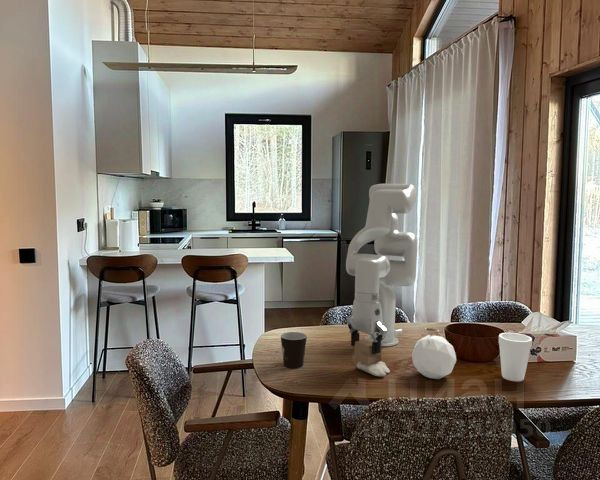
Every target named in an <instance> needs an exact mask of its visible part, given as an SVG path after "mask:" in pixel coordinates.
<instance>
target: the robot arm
mask: <svg viewBox="0 0 600 480" xmlns="http://www.w3.org/2000/svg"><path fill="white" fill-rule="evenodd" d="M368 197H369V204H368V207H367V208H368V209H367V215H366V221H365V226H364V227H363V228H362V229H360V230H359V231H358V232H357V233H356V234H355V235H354V236H353V238H352V239H351V241H350V242H349V244H348V249H347V253H346V260H345V270H346V273H347V274H348V275H350V276H353V277H355V279H354V299H353V304H352V308H351V309H352V310H351V316H348V317H346V322H347V327H348V330H349V333H350V346H352V347H355V342H356V341H360V332H361V333H363V334H367V335H366V336H365V338H364V339H368V338H369V339H372V340H374V342H372V354H378V353H380V352H381V343H382V347H394V346H396V345H398V344H399V339H398V337H397V336H398V335H401V334H402V333H403V332H404V331H403V329H402V328H397V329H396V328H395V326H396V325H395V324H396V323H395V322H396V295H395V293H394V291H393V290H392V288H391V287H392V286H395V287H397V286H398V287H412V286H414V284H415V281H416V277H417V262H418V261H417V260H418V258H417V257H418V240H417V236H416V235H415V233H413V232H409V231H399V217H398V214H401V215H403V214H404V215H406V214H409V213H410V212H411V211H412V209H413V207H414V204H415V203H416V199H417V190H416V188H415V185H413V184H410V183H378V184H373V185H371V186H370V188H369V190H368ZM371 242H374V245H373V247H374V252H375V254H372V253H371V254H370V253H358V252H359V251H360V249H361V248H362V247H363V246H364V245H366V244H368V243H371ZM388 257H393V258H397V257H398V258H403V260H398V259H397V260H396V259H389V258H388ZM381 353H382V352H381Z"/></svg>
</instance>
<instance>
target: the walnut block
mask: <svg viewBox="0 0 600 480" xmlns="http://www.w3.org/2000/svg"><path fill="white" fill-rule="evenodd" d="M372 342H374V340H372V339H369V338H368V339H365V338H364V339H361V340H360V339H359V341H356V342H355V346H354V360H355V361H357V362H361V363H364V364H366V365H370V364H373V363H377V362H380V361H381V362H382V347H383V346H382V343H381V352H380V353H378V354H372Z"/></svg>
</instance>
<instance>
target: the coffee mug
mask: <svg viewBox="0 0 600 480" xmlns="http://www.w3.org/2000/svg"><path fill="white" fill-rule="evenodd" d="M307 337H308V335H307V334H305V333H304V332H299V331H287V332H284V333H283V332H282V333H281V334H280V342H281V351H282V361H283V367H285V368H287V369H291V370H293V369H294V370H295V369H301V368H303V366H304V361H305V353H306V347H307V346H306V345H307Z"/></svg>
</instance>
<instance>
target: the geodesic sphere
mask: <svg viewBox="0 0 600 480" xmlns="http://www.w3.org/2000/svg"><path fill="white" fill-rule="evenodd" d="M411 359H412V360H411V362H412V363H413V365H414V367H415V369H416V370H417V371H418V372H419V373H420V374H421V375H422V376H424V378H425V377H426V378H429V379H434V380H440V379H442V378H444V377H446V376H447V375H450V374H451V373H452V372H453V369H454V367H455V364H456V362H457V354H456V352H455V348H454V346H453V345H452V344H451V343H449V341H448V340H447V339H446V338H444V337H443V336H440V335H436V334H432V333H431V334H427V335H426V336H424V337H422V338H420V339H418V340H417V341H416V342H415V345H414V347H413V350H412V353H411Z"/></svg>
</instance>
